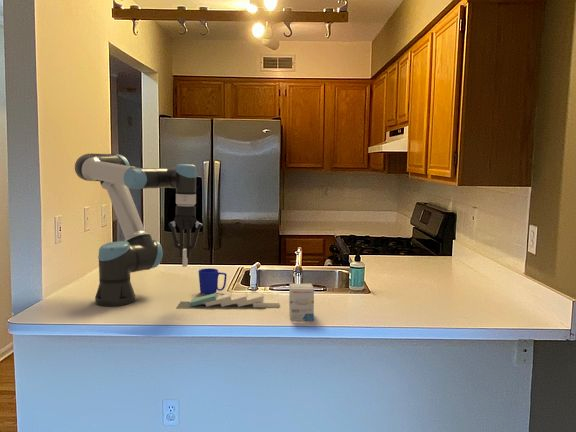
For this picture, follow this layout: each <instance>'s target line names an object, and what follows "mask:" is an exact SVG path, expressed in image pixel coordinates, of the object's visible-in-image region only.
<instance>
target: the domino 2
mask: <svg viewBox="0 0 576 432" xmlns="http://www.w3.org/2000/svg"><path fill="white" fill-rule="evenodd" d="M248 297H249V296H248V293H247V292H246V293H243V294H238V295H235V296H232V300H230V301H226V302H223V303H221V306H222V307H224V306H227V305H231V304H235V303H239V302H243V301H247V299H248Z"/></svg>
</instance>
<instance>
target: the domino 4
mask: <svg viewBox="0 0 576 432" xmlns="http://www.w3.org/2000/svg"><path fill="white" fill-rule="evenodd" d="M253 307H266V308H280V299H264V300H262V301H259V302H255V303H253Z"/></svg>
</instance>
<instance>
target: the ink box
mask: <svg viewBox="0 0 576 432" xmlns="http://www.w3.org/2000/svg"><path fill="white" fill-rule="evenodd" d="M288 299H289V302H288V303H289V311H288V313H289V320H290V321H293V320H295V321H296V320H297V321H302V320H303V321H306V322H307V321H309V322H310V321H314V318H315V317H314V314H315V311H314V309H315V308H314V306H315V305H314V304H315V300H314V299H315V288H314V286H313V284H312V283H289V297H288Z"/></svg>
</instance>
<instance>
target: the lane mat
mask: <svg viewBox="0 0 576 432" xmlns="http://www.w3.org/2000/svg"><path fill="white" fill-rule="evenodd" d="M190 302H191V301H183V300H182V301H179V303H178V304H177V306H176V308H175V309H177V310H188V309H189V310H190V309H191V310H199V309H200V310H202V309H203V310H239V309H240V310H266V309H267V307H253V303H251V304H248V305H244V306H240V307H238V304H237V303H235V304H231V305H227V306H224V307H222V306H221V303H219V304H215V305H211V306H208V307H206V304H205V303H203V304H199V305H196V306H192V307H191V305H190Z"/></svg>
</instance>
